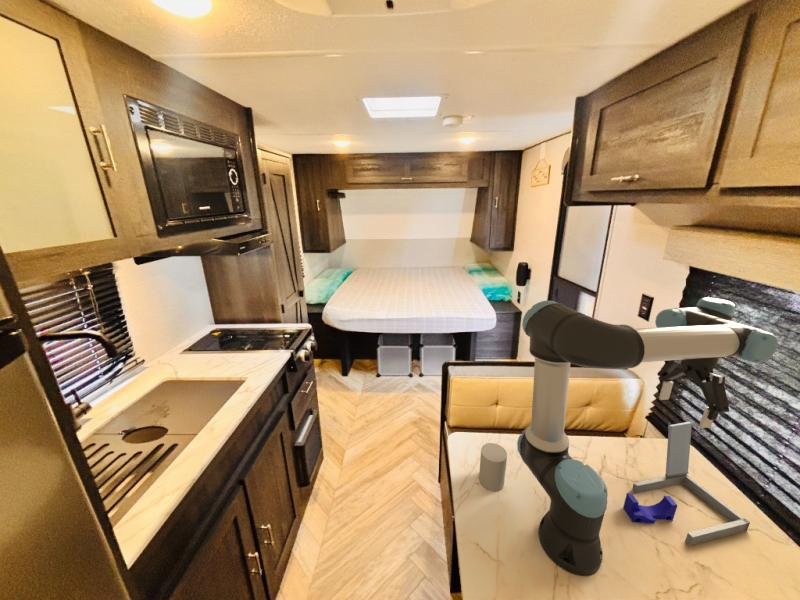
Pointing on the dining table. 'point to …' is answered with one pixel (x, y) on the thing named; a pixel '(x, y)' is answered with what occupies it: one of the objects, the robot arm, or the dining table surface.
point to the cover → (678, 449)
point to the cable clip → (649, 510)
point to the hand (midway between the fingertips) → (682, 412)
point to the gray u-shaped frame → (713, 532)
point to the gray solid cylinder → (492, 467)
